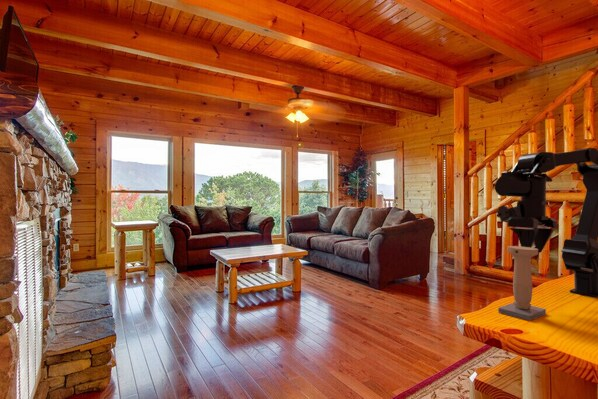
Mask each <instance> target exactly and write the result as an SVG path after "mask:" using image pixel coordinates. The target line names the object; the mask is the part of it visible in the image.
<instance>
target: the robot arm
mask: <svg viewBox="0 0 598 399" xmlns="http://www.w3.org/2000/svg"><path fill="white" fill-rule="evenodd" d="M590 162H591V163H592V164H589V165H588V164H587V163H590ZM572 164H574V165H576V170H577V173H579V174H580V175H581V176H582V184H583V185H584V188H585V190H586V192H585V195H584V196H585V197H584V201H583V203H582V204H583V205H582V207H581V212H580V216H579V220H578V224H577V227H576V232H575V235H574V236H573V237H571V238H566V239H565V240H564V241H563V247H562V249H561V250H560V252H561V259H562V262H563V265H564V267H565V269H566V270H568V271H573V273H574V274H573V277H574V279H573V280H574V288H571V289H569V292H570V293H573V294H575V293H576V294H580V295H585V296H591V297H595V298H596V297H597V298H598V149H596V148H595V147H586V148H578V149H576V150H572V151H566V152H558V153H557V152H556V153H554V152H551V151H540V152H538V151H537V152H534V153H527V154H522V155H520V156H519V157H518V159H517V162H516V164H515V165H514V166H513V168H512V169H511V171H508V170H507V171H501V172H500V173H501V174H500V175H501V176H499V177H498V178H497V180H496V181H495V184H494V189H495V192H496V194H497V195H498V196H500V197H513V198H515V197H516V198H517V197H518V198H519V197H520V200H518V201H517V202H516V206H513V207H508V206H507V205H502V206H499V207H498V209H497V211H496V217H497V218H499V219H500V223H506V227H508V228H509V229H510V230H511V232H512V231H513V233H515V234H516V236H517V239H518V240H519V244H520V246H521V247H530V248H533V245H534V248H536V249H538V254H539V253H540V254H541V253H542V251H543V250H544V249H545V247H546V244H547V243H548V241H549V240H550V238H551V236H552V235H553V233H554V232H555V231H556V229H557V228H558V220H556V219H555V218H554V217H549V216H548V215H547V214H546V213H547V211H546V209H547V206H549V201H548V200H547V183H551V182H553V179H552V178H551V177H550V176H548V174H547V172H548V173H549V172H550V171H552V170H555V169H556V168H557V167H560V166H566V165H572Z"/></svg>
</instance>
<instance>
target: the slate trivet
mask: <svg viewBox="0 0 598 399" xmlns="http://www.w3.org/2000/svg"><path fill="white" fill-rule="evenodd" d="M546 310H547V309H546V308H544V307H543V308H542V307H538V306H534V305H531V308H530V309H527V310H525V309H519V308H518V307H516V306H515V303H514V302H510V303H508V304H506V305H502V306H499V307H498V310H497V311H498V313H499V314H502V315H506V316H510V317H514V318H518V319H521V320H525V321H527V322H528V321H529V322H530V321H532V320H535V319H537V318H540V317H542V316H545V315H546V314H547V311H546Z"/></svg>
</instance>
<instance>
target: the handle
mask: <svg viewBox="0 0 598 399" xmlns="http://www.w3.org/2000/svg"><path fill="white" fill-rule="evenodd" d="M506 250H507V252H508V253H509V254H511V256H513V260H514V262H513V263H514V264H513V276H512V277H513V278H512V279H513V280H512V291H513V298H514V303H515V306H516V307H518V308H519V309H525V310H527V309H530V308H531V306H532V300H533V299H532V298H533V278H532V265H531V264H532V263H531V262H532V261H531V260H532V258H533V257H534V256H535V257H536V256H537V255H538V254H539V252H538V249H536V248H535V247H531V248H530V247H521V245H520V246H519V245H508V246H507V249H506Z"/></svg>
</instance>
